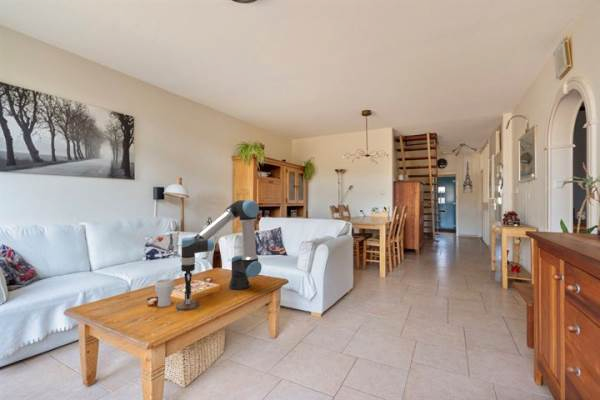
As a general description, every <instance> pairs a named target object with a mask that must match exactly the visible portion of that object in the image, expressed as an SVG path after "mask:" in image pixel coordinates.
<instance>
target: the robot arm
mask: <svg viewBox="0 0 600 400" xmlns="http://www.w3.org/2000/svg"><path fill="white" fill-rule="evenodd" d="M259 212H260V207H259V205H258V203H257V202H256V201H254V200H250V199H247V200H246V199H245V200H242V199H239V200H236V201H234V202H232V203H231V204H230V205H229V206H228V207H226V208H225V209H224V212H223V213H221V214H220V215H219V216H218V217H216V219H214V220H213V221H212V222H211V223H210V224H208V225H207V226H206V227H204V229H202V230H201V231H200V232H199V233H197V234H196V235H195V236H193V237H184V238H183V239H182V240H181V246H180V247H181V258H180V259H179V260H180V261H181V269H180V270H181V272H184V281H185V291H186V293H185V292H184V295H185V294H186V304H191V300H192V288H191V287H192V285H191V284H192V283H191V282H192V276H193V275H192V274H193V273H192V272H193V271H195V269H196V268H195V267H196V264H195V263H196V257H195V256H196V254H199V253H205V252H207V253H208V252H212V251H213V250H214V249H215V242H214V240H213V239H211V238H212V237H214V236H215V235H216V234H217V233H218V232H219V231H221V229H223V228H224V227H225V226H226V225H228V223H230V222H231V221H234V220H235V219H237V218H239V221H240V222H241V228H242V229H241V231H242V233H241V234H242V249H243V250H242V251H243V252H242V254H243V255H236V256H232V258H231V262H230V263H231V277H230V279H229V280H230V281H229V285H228V289H230V290H235V291H240V290H246V289H249V288H250V287H251V286H250V280H249V278H257V277H258V276H259V275H260V273H261V271H262V269H263V268H262V263H261V262H260V261H259V257H258V255H257V254H256V253H257V252H256V233H255V232H256V231H255V229H256V228H255V221H256V220H257V216H258V214H259Z"/></svg>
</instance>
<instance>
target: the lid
mask: <svg viewBox="0 0 600 400" xmlns="http://www.w3.org/2000/svg"><path fill="white" fill-rule="evenodd" d="M185 293H186V290H185V291H184V300H181V301H179V302H177V303H176V304H175V308H176V310H177V309H179V310H185V311H190V309H192V310H195V309H194V308H196V307H198V306H199V307H200V301H199V300H197V299H191V304H186V294H185Z"/></svg>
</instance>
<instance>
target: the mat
mask: <svg viewBox="0 0 600 400" xmlns="http://www.w3.org/2000/svg"><path fill="white" fill-rule="evenodd" d="M196 309H200V305H199V306H198V307H196V308H194V309H190V310H196ZM190 310H189V311H190ZM183 311H184V312H185V311H186V310H179V309H177V308H176V312H183Z"/></svg>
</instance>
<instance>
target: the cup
mask: <svg viewBox="0 0 600 400" xmlns="http://www.w3.org/2000/svg"><path fill="white" fill-rule="evenodd" d="M174 289H175V284H174V279H173V278H172V279H171V278H163V279H162V278H161V279H158V280H156V281H155V284H154V291H155V294H156V295H157V300H158V301H157V307H159V308H160V307H161V308H163V307H164V308H165V307H169V306H171V305H172V300H171V296H172V293H173V291H174Z"/></svg>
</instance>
